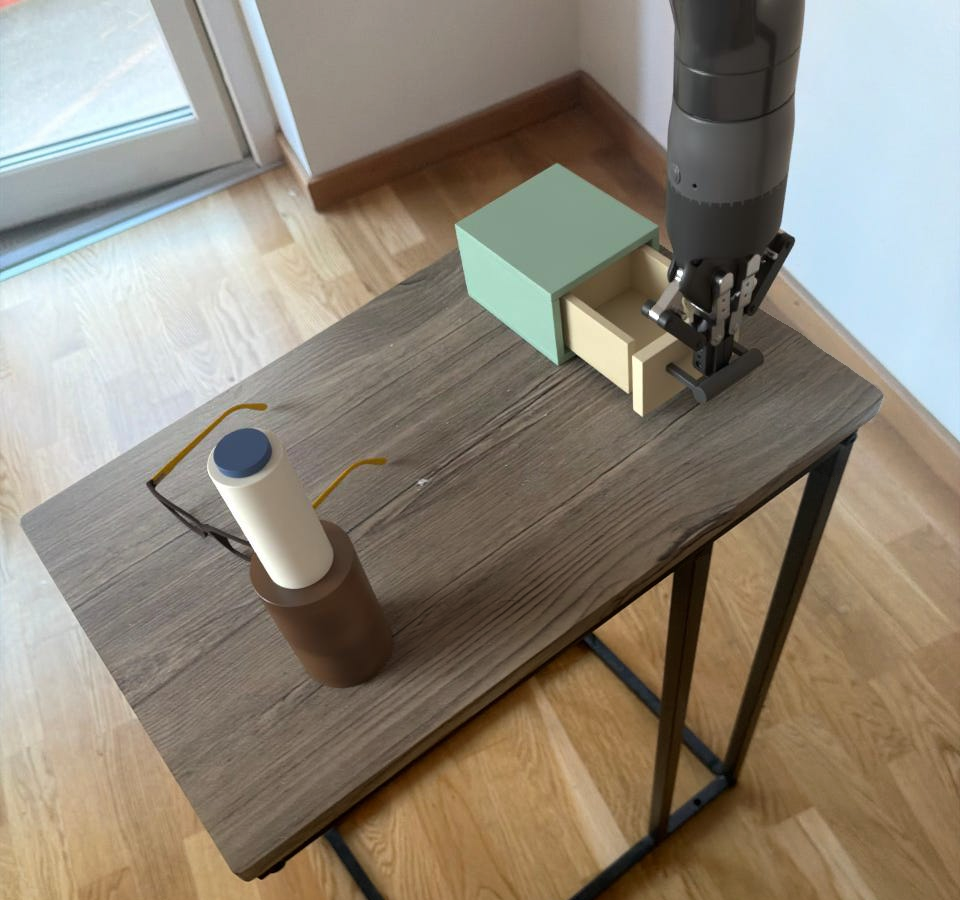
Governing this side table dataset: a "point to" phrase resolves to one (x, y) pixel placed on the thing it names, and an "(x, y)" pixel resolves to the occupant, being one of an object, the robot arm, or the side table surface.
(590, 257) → the cabinet
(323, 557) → the tube
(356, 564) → the stand
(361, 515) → the side table surface
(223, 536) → the eyeglasses
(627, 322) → the drawer
